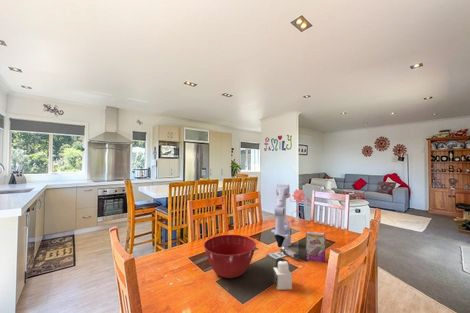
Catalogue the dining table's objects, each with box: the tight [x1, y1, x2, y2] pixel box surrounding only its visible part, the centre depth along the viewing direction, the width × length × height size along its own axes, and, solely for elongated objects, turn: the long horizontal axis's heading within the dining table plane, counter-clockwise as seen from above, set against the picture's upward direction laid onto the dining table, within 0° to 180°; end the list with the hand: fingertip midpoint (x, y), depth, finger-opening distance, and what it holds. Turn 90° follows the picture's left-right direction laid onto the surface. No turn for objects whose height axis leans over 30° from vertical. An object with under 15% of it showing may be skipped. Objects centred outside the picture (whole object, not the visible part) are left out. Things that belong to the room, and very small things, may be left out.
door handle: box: [281, 246, 300, 260], centre depth 132 cm, size 14×4×3 cm, turn 25°
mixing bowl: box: [203, 234, 257, 279], centre depth 114 cm, size 28×28×16 cm
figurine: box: [286, 188, 312, 227], centre depth 204 cm, size 15×26×35 cm, turn 51°
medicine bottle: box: [272, 258, 293, 291], centre depth 101 cm, size 7×7×12 cm
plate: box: [266, 251, 289, 261], centre depth 133 cm, size 10×9×1 cm
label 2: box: [273, 251, 287, 259], centre depth 135 cm, size 4×7×1 cm, turn 30°
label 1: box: [268, 252, 281, 259], centre depth 132 cm, size 4×7×1 cm, turn 30°
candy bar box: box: [305, 231, 326, 263], centre depth 129 cm, size 11×5×16 cm, turn 71°
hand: (280, 246), depth 135 cm, fingers closed
